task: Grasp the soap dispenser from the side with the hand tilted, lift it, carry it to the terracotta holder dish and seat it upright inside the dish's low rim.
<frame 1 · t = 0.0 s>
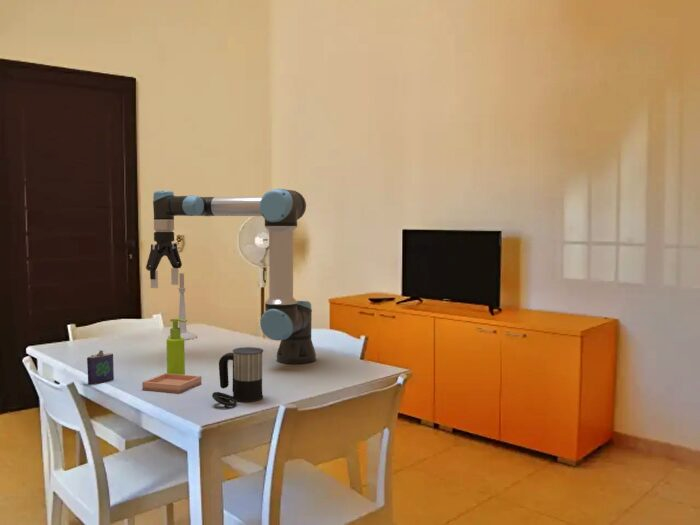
hand: (164, 286, 250), 28 cm above the table, tool pointing down, fingers open, 13 cm apart
candlestick: (182, 338, 295), on the table
flask: (101, 382, 215), on the table
holder dish: (172, 386, 209), on the table
soap dispenser: (177, 377, 222), on the table
milk frother: (238, 402, 192), on the table
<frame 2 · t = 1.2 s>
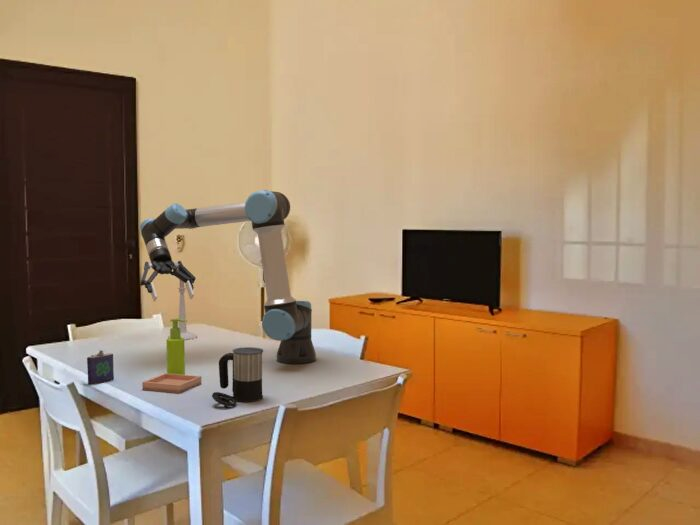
hand: (174, 298, 232), 26 cm above the table, tool tilted 45°, fingers open, 13 cm apart
nothing on the table moved.
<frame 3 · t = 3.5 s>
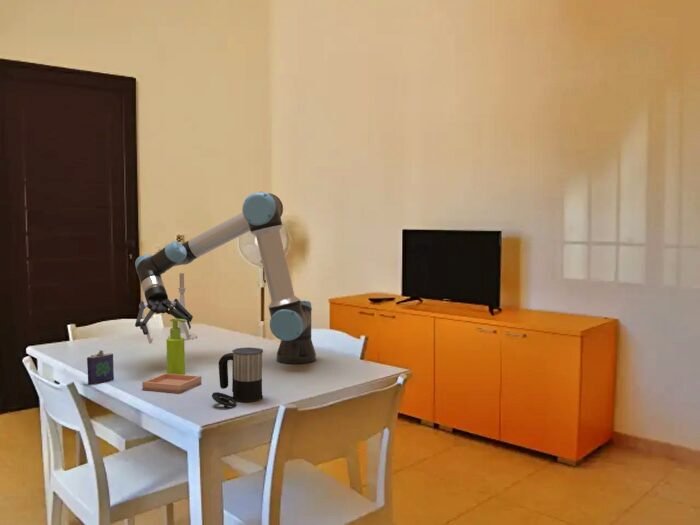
hand: (170, 339, 223), 13 cm above the table, tool tilted 45°, fingers open, 13 cm apart
nothing on the table moved.
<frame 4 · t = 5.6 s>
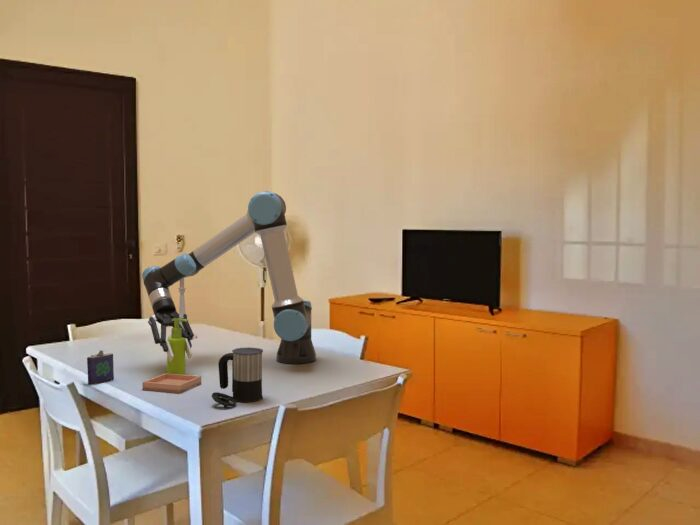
hand: (181, 357, 218), 7 cm above the table, tool tilted 45°, fingers closed on soap dispenser, 6 cm apart
soap dispenser: (177, 377, 222), on the table, touching gripper
everything else where it was.
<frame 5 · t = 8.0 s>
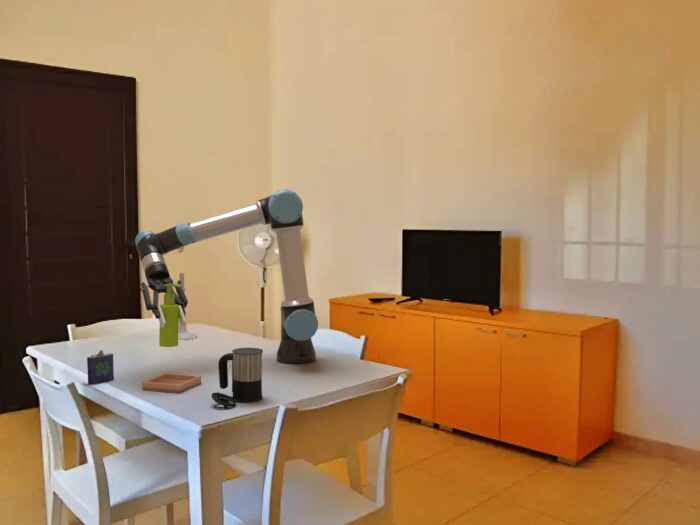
hand: (173, 324, 206), 20 cm above the table, tool tilted 45°, fingers closed on soap dispenser, 6 cm apart
soap dispenser: (170, 346, 210), point 13 cm above the table, touching gripper
everything else where it was.
when the fingers open (10 cm above the table, at t = 10.5 s): soap dispenser drops 1 cm, resting on holder dish.
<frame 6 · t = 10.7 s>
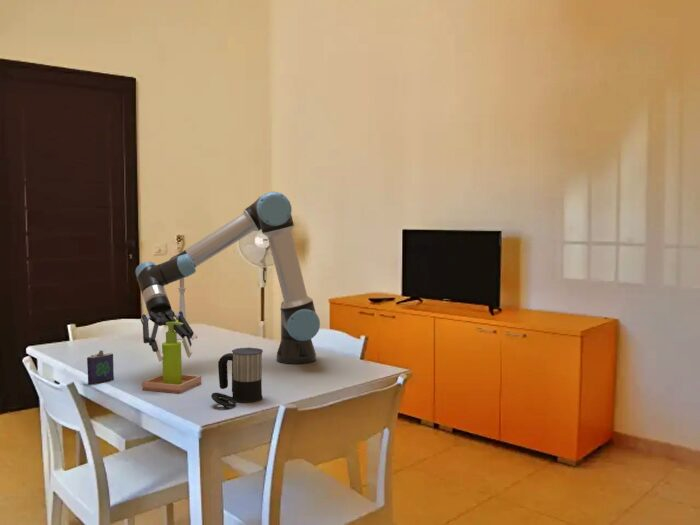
hand: (175, 357, 205), 10 cm above the table, tool tilted 45°, fingers open, 9 cm apart
soap dispenser: (174, 383, 209), point 1 cm above the table, touching holder dish
everything else where it was.
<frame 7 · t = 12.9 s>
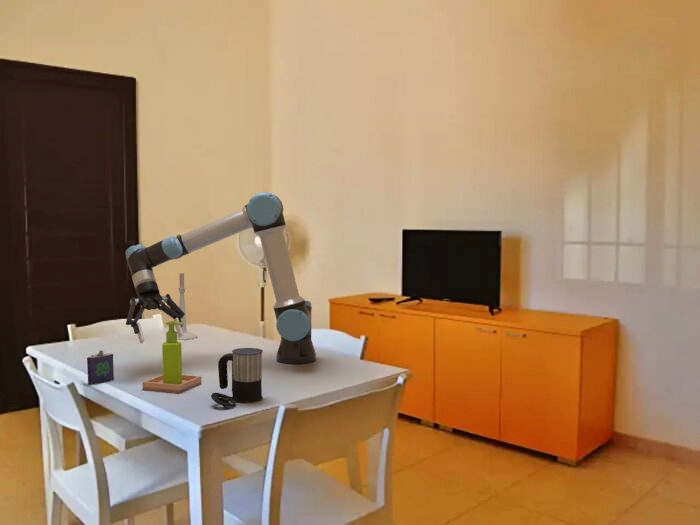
hand: (162, 338, 220), 13 cm above the table, tool tilted 35°, fingers open, 13 cm apart
nothing on the table moved.
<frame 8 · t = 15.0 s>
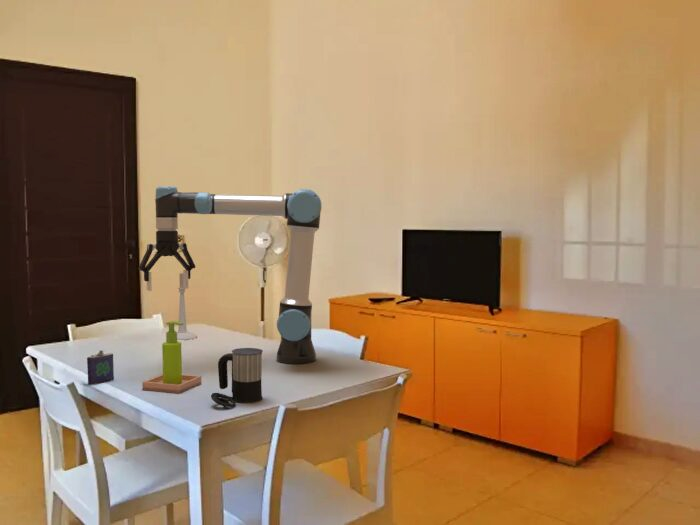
hand: (167, 289, 232), 29 cm above the table, tool pointing down, fingers open, 13 cm apart
nothing on the table moved.
at the end: soap dispenser inside the target area on the holder dish (0.6 cm from its centre), point 0.8 cm above the holder dish's base; soap dispenser tilted 0°; the gripper is holding nothing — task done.
